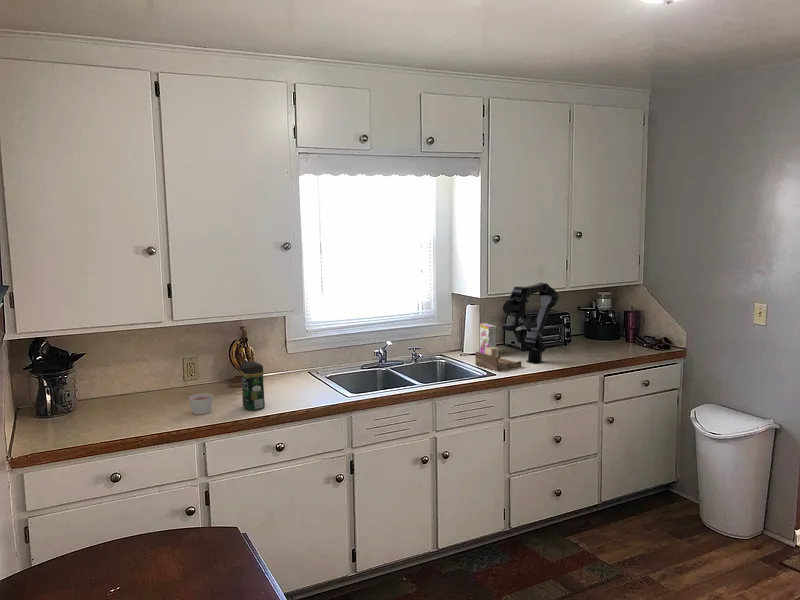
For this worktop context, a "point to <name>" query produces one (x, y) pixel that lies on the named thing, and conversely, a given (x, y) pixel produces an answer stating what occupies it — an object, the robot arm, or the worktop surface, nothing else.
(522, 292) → the robot arm
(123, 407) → the worktop surface
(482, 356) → the trap box
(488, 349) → the maple block
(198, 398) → the candle
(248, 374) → the coffee jar
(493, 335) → the candy bar box
